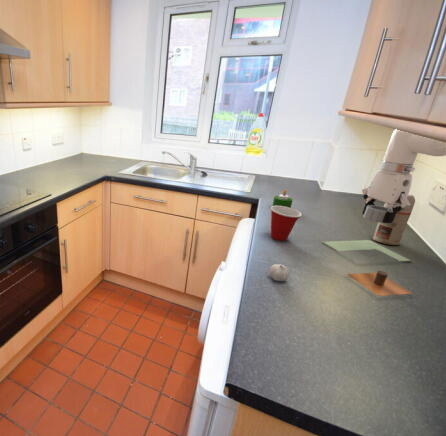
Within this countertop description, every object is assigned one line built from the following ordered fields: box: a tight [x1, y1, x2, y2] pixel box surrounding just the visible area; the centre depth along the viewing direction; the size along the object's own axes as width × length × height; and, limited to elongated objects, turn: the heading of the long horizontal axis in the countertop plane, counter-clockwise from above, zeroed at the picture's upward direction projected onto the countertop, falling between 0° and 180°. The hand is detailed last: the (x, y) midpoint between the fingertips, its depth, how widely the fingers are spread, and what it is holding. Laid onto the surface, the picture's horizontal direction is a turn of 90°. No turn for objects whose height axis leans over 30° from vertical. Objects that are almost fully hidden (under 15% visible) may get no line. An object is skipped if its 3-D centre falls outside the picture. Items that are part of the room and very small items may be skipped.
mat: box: [322, 239, 411, 263], centre depth 108 cm, size 20×16×1 cm
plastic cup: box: [270, 205, 303, 242], centre depth 115 cm, size 11×11×12 cm
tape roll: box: [362, 204, 389, 223], centre depth 102 cm, size 7×7×4 cm
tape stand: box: [346, 270, 414, 297], centre depth 87 cm, size 11×11×4 cm
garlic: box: [269, 263, 291, 282], centre depth 89 cm, size 6×5×5 cm
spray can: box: [372, 194, 416, 246], centre depth 113 cm, size 8×8×20 cm
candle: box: [271, 189, 294, 208], centre depth 148 cm, size 8×8×10 cm
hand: (376, 217), depth 102 cm, fingers closed on tape roll, 7 cm apart
